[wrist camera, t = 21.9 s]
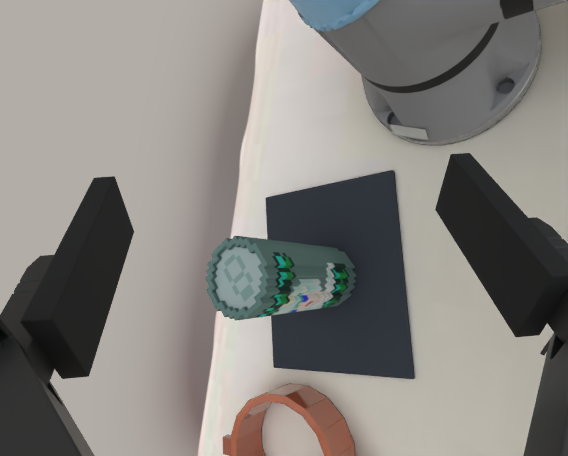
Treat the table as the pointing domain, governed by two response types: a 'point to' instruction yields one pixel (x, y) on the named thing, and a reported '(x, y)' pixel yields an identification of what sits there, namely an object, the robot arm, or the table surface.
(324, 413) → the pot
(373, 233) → the mat
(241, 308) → the can
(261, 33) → the table surface
